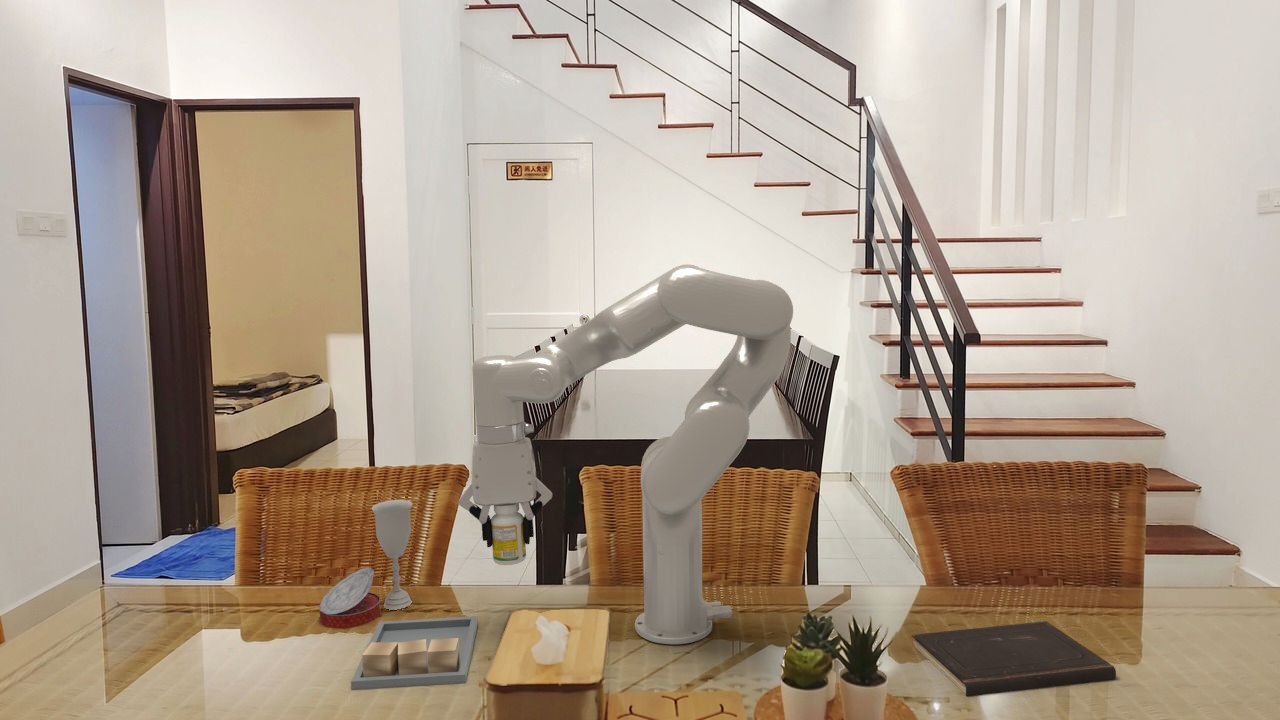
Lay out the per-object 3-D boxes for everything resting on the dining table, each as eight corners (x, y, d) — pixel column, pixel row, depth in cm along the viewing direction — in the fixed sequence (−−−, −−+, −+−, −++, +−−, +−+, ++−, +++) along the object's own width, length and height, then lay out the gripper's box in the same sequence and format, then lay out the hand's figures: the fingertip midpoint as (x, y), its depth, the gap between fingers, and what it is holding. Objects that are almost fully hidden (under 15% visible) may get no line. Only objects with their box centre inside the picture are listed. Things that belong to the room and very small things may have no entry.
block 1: (399, 667, 131) (398, 642, 130) (391, 681, 127) (389, 654, 126) (373, 667, 131) (371, 642, 131) (363, 681, 127) (362, 654, 127)
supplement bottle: (508, 568, 139) (504, 509, 138) (486, 561, 143) (482, 504, 141) (533, 558, 143) (529, 500, 142) (511, 551, 147) (507, 496, 145)
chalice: (406, 614, 151) (400, 513, 149) (369, 611, 153) (363, 511, 150) (424, 597, 158) (419, 500, 156) (390, 595, 160) (384, 499, 157)
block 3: (459, 663, 132) (458, 638, 131) (456, 676, 128) (455, 650, 128) (432, 665, 132) (431, 639, 131) (428, 678, 128) (427, 651, 127)
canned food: (373, 652, 148) (366, 614, 142) (313, 646, 148) (304, 608, 142) (392, 598, 157) (387, 560, 151) (336, 593, 157) (328, 555, 151)
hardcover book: (911, 648, 137) (911, 634, 136) (1045, 634, 141) (1046, 621, 140) (966, 700, 121) (966, 684, 121) (1115, 683, 125) (1116, 667, 125)
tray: (478, 626, 146) (477, 616, 146) (465, 686, 126) (465, 674, 126) (379, 632, 145) (379, 621, 144) (351, 693, 125) (350, 681, 125)
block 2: (427, 664, 132) (425, 639, 131) (427, 676, 128) (426, 650, 128) (399, 668, 131) (398, 642, 130) (399, 680, 127) (397, 654, 127)
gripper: (555, 425, 145) (561, 531, 147) (449, 432, 143) (457, 539, 146) (554, 434, 137) (561, 546, 140) (443, 442, 136) (452, 555, 138)
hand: (508, 541), depth 143 cm, fingers closed on supplement bottle, 5 cm apart
